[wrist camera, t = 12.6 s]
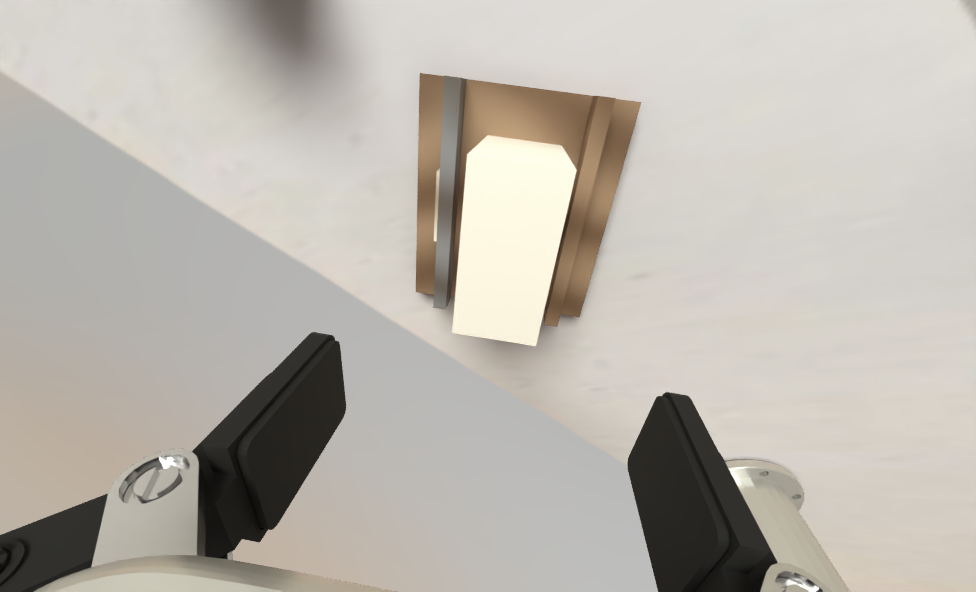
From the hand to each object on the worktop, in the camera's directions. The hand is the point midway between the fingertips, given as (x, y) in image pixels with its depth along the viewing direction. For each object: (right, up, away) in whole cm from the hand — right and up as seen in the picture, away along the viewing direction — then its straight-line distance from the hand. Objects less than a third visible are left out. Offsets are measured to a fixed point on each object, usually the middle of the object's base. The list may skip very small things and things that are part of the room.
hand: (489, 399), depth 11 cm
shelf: (+2, +10, +17) cm, 20 cm away
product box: (+2, +9, +16) cm, 18 cm away
